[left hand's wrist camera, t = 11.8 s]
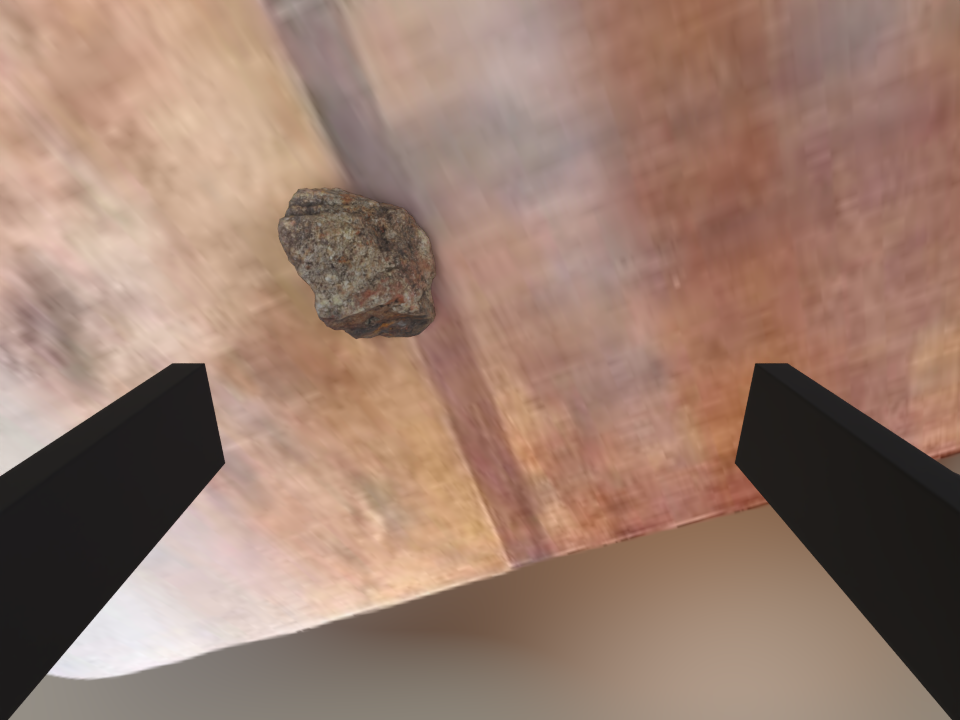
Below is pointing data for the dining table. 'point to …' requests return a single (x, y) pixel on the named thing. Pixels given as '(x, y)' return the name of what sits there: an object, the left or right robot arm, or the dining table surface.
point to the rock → (360, 262)
